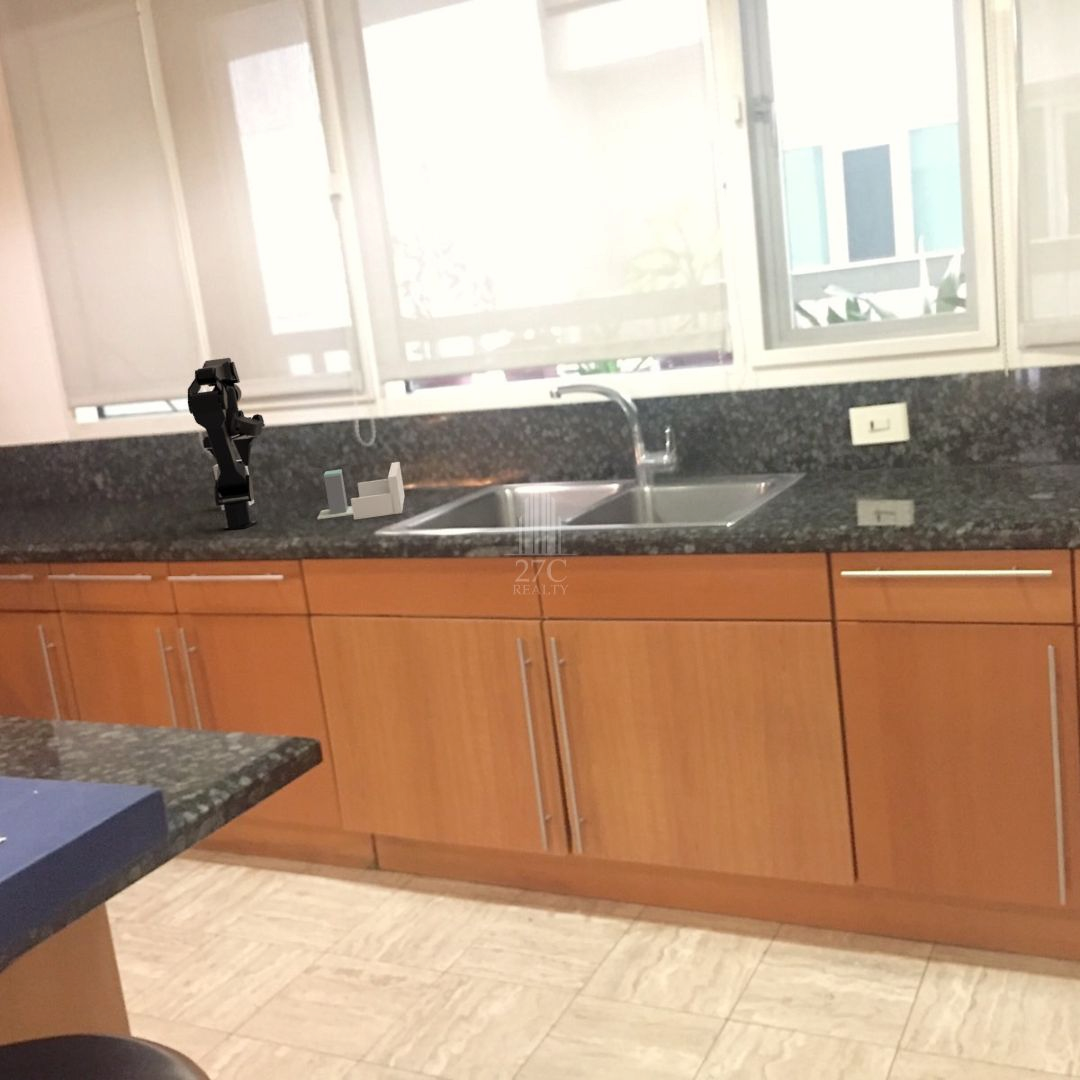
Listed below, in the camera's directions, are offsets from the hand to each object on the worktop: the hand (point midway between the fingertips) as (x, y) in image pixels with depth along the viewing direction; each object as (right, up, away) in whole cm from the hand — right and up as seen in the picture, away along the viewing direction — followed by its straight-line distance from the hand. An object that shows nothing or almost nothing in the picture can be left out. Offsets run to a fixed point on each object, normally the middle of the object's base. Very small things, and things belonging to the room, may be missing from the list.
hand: (237, 469), depth 305 cm
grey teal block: (+27, -11, -7) cm, 30 cm away
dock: (+37, -10, -6) cm, 39 cm away
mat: (+27, -11, -7) cm, 30 cm away
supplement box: (-6, -9, +25) cm, 27 cm away
